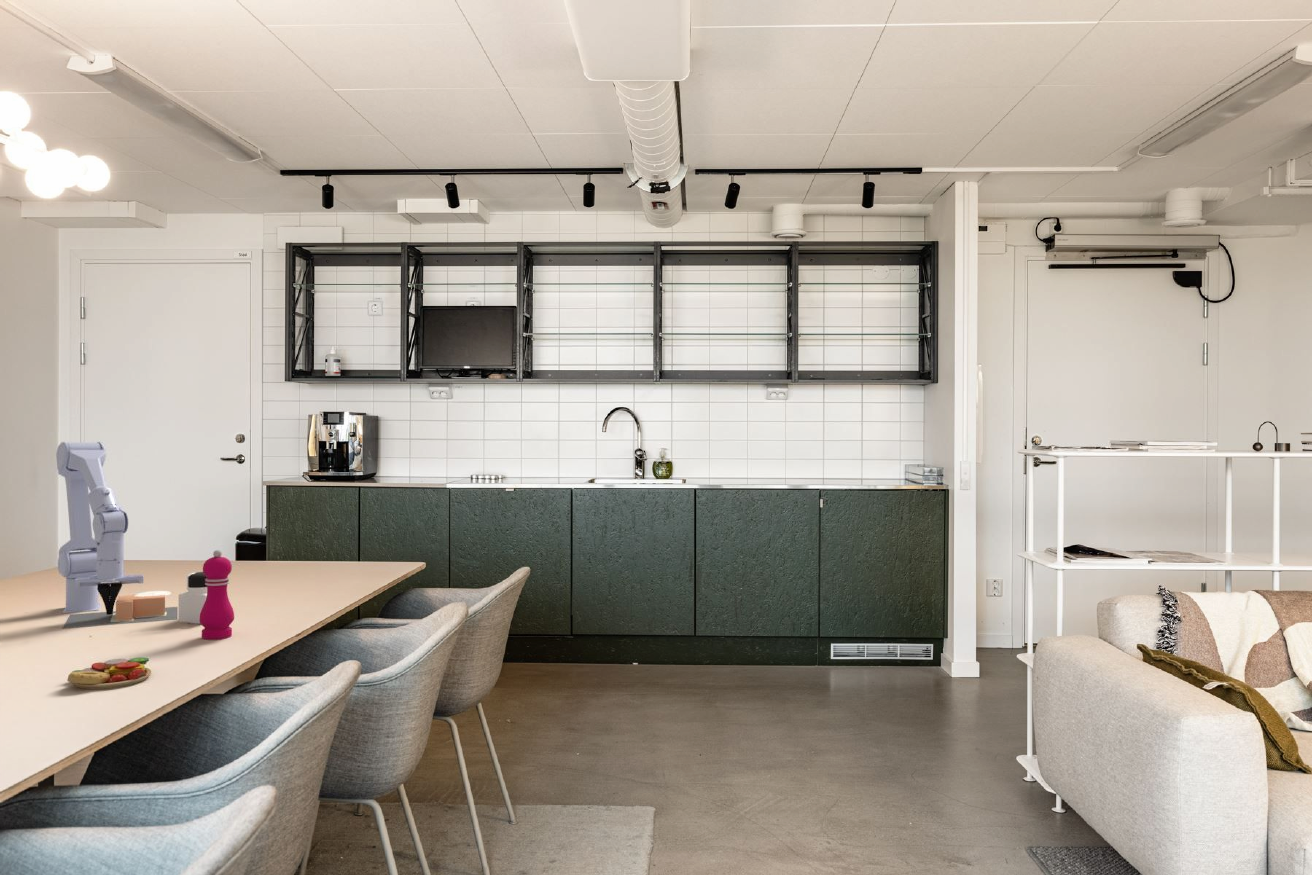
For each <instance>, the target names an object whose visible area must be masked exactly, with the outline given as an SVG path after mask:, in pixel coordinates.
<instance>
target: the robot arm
mask: <svg viewBox="0 0 1312 875" xmlns="http://www.w3.org/2000/svg"><path fill="white" fill-rule="evenodd" d="M55 456H56V468H57V469H56V470H57V473H58V475H60V476H62V477H64V481H65V488H66V498H67V499H66V500H67V510H68V511H67V512H68V523H69V525H68V526H69V537H70V540H68V541H67V542H66V543H64V544H62V546H61V547H60V548H59V549H58V560H57V570H58V573H59V574H60V576H62V577H63V578H65V607H64V609H63V610H62V612H61V613H62V614H71V613H73V614H74V613H85V612H87V613H88V612H98V611H100V609H101V607H102V603H99V595H100V597H101V600H102V602H103V604H104V608H105V612H106V613H107V615H111V614H113V611H114V607H115V605H116V601H117V599H118V596H119V593H120V591H121V589H122V587H123V585H128V584H129V585H130V584H131V585H132V584H144V582H145V581H144V578H145V576H144V574H124V552H125V548H124V546H125V545H124V544H125V543H124V538H125V537H124V536H125V535H124V534H126V533H127V531H128V529H129V517H128V513H127V512H126V510H124V509H123V508H122V507H120V506H119V503H118V501H117V498H116V496H115V492H114V490H113V489H112V488H110V487H107V483H106V480H105V479H106V478H105V475H104V470H103V466H104V464H105V461H106V458H107V449H106V447H105V445H104V444H103V442H101V441H96V442H93V441H92V442H84V441H83V442H82V441H81V442H76V441H75V442H66V441H61V442H60V444H59V445H58V446H57V449H56V454H55ZM89 491H90V492H89ZM91 512H92V516H93V519H92V516H91ZM93 534H94V535H93ZM93 536H94V537H93Z"/></svg>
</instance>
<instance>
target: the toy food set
mask: <svg viewBox="0 0 1312 875" xmlns="http://www.w3.org/2000/svg"><path fill="white" fill-rule="evenodd" d="M149 661H150V658H149V657H142V656H141V657H140V656H139V657H133V658H129V659H126V658H114V659H109V660H105V661H104V662H94V663H92V664H91V667H85V668H84V669H77V670H73V671H71V672H70V673H69V674H68V677H67V679H66V680H67V682H69V683H72V684H73V685H75V686H76V687H77V688H80V689H87V690H107V689H115V688H123V687H127V686H131V685H134V684H135V685H137V684H138V683H141V682H144V681H145V680H147V678H149V677H150V676H151V675H152V670H151V669H150V668H148V667H146V666H145V665H147V663H148V662H149Z"/></svg>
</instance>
